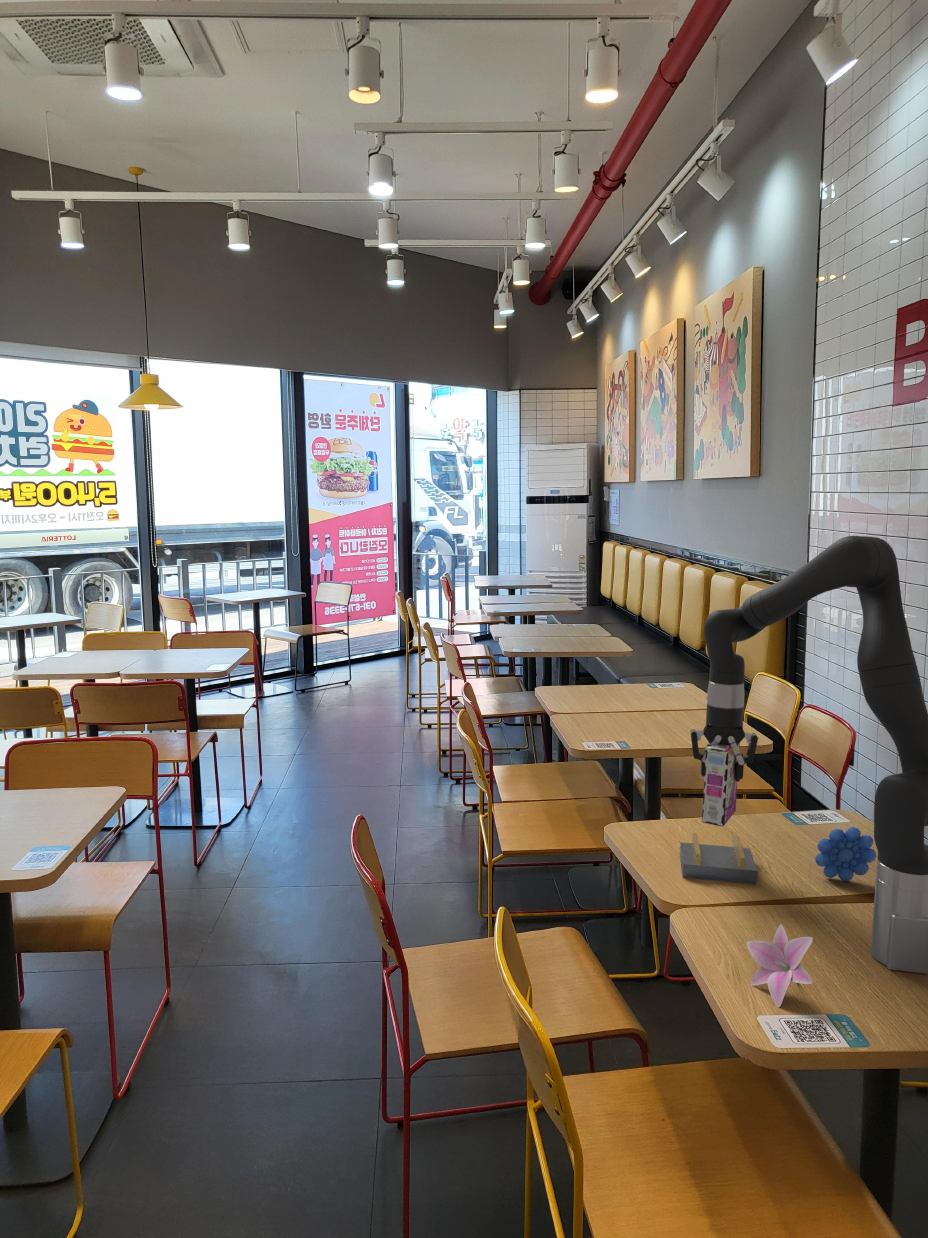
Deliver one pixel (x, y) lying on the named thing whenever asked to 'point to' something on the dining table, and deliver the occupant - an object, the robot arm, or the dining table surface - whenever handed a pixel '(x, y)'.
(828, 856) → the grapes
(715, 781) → the candy bar box
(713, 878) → the dock
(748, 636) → the robot arm
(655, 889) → the dining table surface
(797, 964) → the lily
